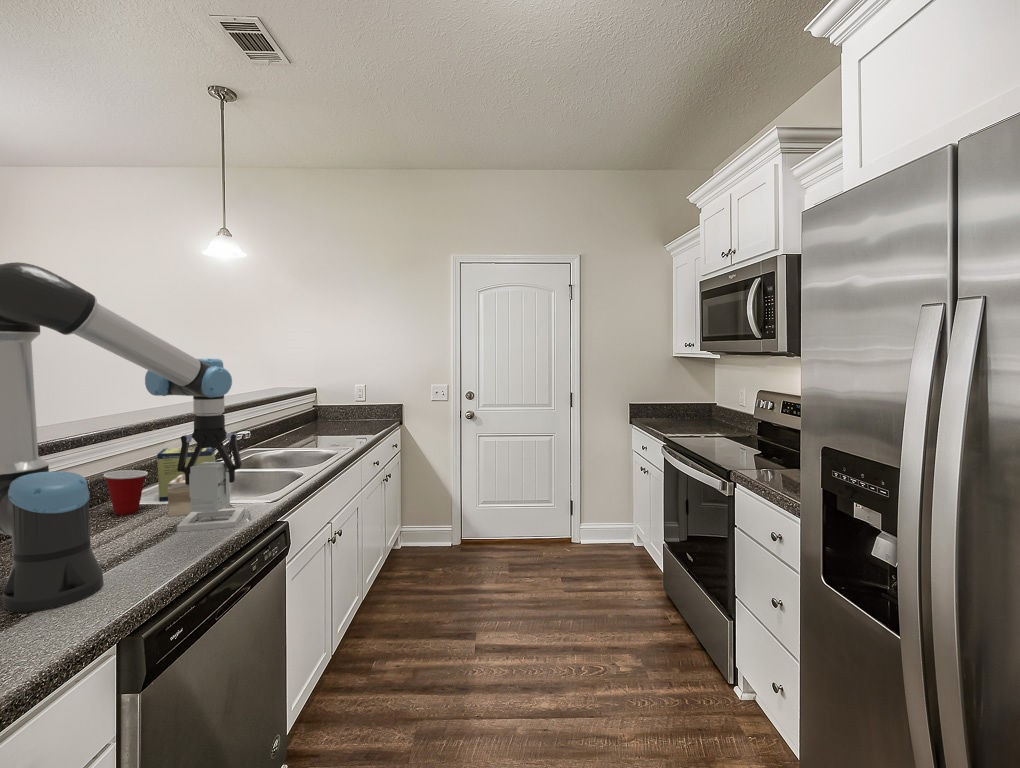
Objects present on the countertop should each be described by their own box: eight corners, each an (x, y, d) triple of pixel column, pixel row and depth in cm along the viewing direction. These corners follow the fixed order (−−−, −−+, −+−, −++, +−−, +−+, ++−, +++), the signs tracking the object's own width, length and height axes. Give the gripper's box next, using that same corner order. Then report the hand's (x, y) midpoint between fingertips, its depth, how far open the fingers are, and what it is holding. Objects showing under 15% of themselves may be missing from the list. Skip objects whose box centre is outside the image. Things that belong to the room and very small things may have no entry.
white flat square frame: (235, 527, 147) (235, 521, 147) (176, 531, 143) (176, 526, 143) (244, 512, 160) (244, 507, 160) (191, 516, 157) (191, 511, 156)
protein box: (164, 494, 181) (162, 448, 180) (217, 489, 187) (215, 445, 186) (158, 502, 172) (156, 453, 171) (213, 497, 178) (212, 450, 177)
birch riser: (214, 512, 160) (213, 481, 159) (168, 516, 157) (167, 483, 156) (224, 502, 172) (223, 472, 171) (181, 505, 168) (180, 474, 168)
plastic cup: (145, 515, 158) (143, 474, 157) (100, 519, 154) (98, 477, 153) (153, 505, 168) (151, 467, 167) (111, 509, 164) (109, 470, 163)
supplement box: (217, 512, 148) (216, 466, 147) (190, 512, 148) (189, 466, 147) (231, 505, 155) (230, 461, 154) (205, 505, 155) (204, 461, 154)
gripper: (253, 412, 157) (254, 489, 158) (170, 413, 151) (172, 494, 152) (248, 414, 149) (249, 495, 150) (161, 416, 143) (163, 501, 144)
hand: (210, 495), depth 151 cm, fingers closed on supplement box, 8 cm apart
